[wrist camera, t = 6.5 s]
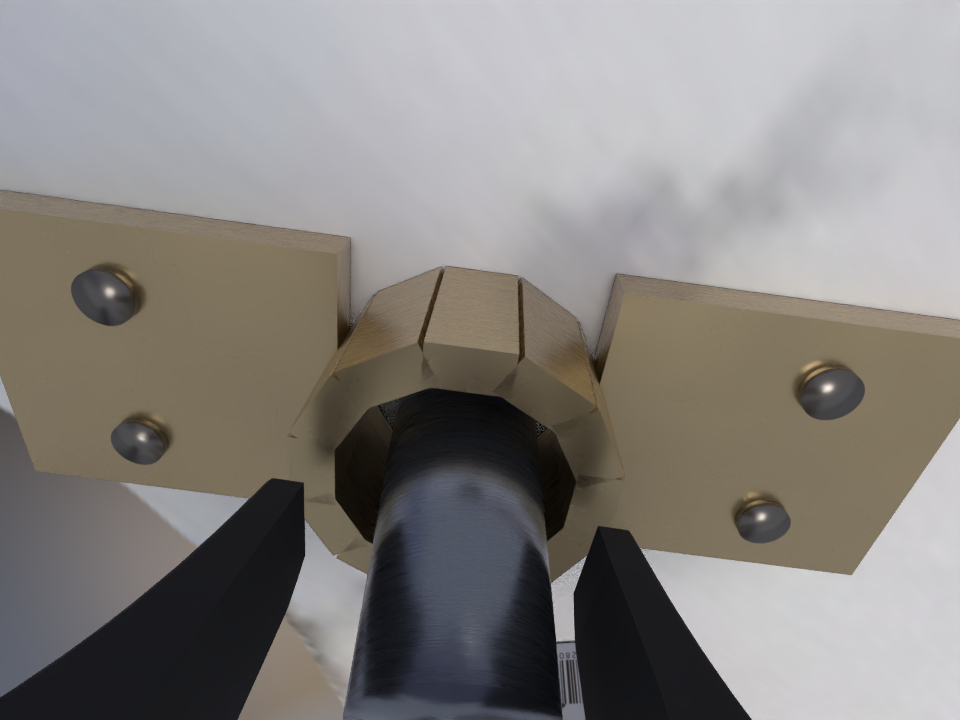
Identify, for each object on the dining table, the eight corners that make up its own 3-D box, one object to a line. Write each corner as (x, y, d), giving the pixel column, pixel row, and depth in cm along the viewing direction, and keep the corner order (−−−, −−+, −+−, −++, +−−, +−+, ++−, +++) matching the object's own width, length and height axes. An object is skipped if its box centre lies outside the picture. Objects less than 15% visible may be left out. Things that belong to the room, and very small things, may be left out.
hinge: (64, 445, 17) (-48, 545, 14) (-20, 187, 13) (-205, 238, 10) (831, 544, 18) (908, 665, 14) (972, 322, 14) (1126, 416, 10)
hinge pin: (399, 427, 16) (346, 752, 10) (402, 330, 14) (336, 677, 8) (521, 438, 16) (540, 760, 10) (543, 344, 14) (587, 691, 8)
